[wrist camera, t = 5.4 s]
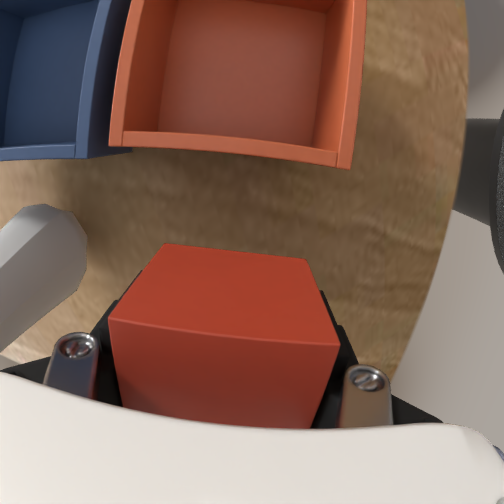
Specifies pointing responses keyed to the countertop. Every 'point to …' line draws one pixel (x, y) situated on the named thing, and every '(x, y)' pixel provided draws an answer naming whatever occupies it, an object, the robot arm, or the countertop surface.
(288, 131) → the orange bin
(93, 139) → the blue bin
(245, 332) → the red block
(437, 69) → the countertop surface
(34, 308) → the salt shaker
